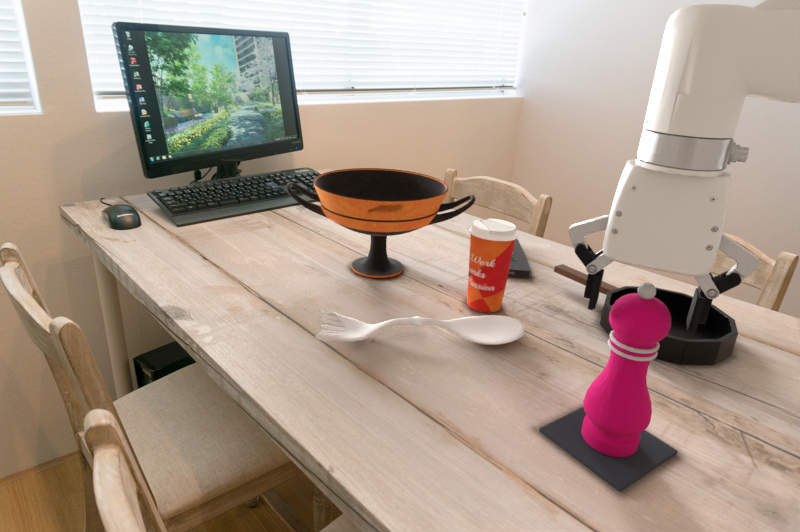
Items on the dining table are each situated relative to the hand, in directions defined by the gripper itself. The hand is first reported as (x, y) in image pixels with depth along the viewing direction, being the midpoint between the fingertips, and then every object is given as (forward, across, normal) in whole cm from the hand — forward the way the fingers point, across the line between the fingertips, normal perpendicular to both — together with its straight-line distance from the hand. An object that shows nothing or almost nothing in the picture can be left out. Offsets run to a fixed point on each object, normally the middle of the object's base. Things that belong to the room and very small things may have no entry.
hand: (639, 316), depth 56 cm
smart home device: (+17, +26, -52) cm, 61 cm away
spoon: (+17, +29, -11) cm, 35 cm away
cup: (+17, +48, -32) cm, 60 cm away
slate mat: (+17, 0, 0) cm, 17 cm away
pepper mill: (+16, 0, 0) cm, 16 cm away
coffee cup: (+17, +24, -27) cm, 40 cm away
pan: (+17, 0, -37) cm, 41 cm away
